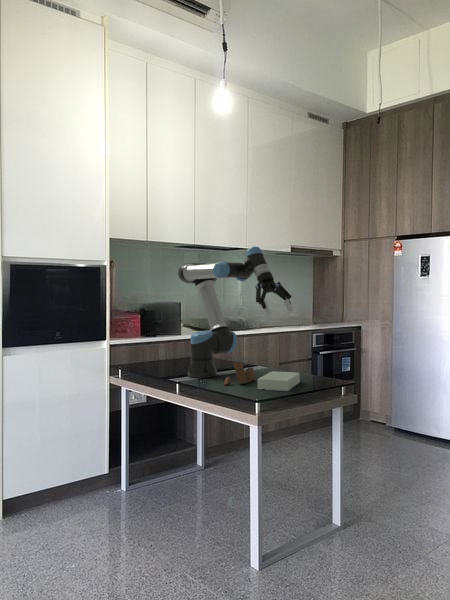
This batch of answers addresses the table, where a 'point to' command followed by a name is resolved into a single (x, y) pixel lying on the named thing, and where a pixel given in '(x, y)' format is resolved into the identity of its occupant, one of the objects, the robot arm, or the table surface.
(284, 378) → the sage base block
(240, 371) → the wooden block set
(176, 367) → the table surface
